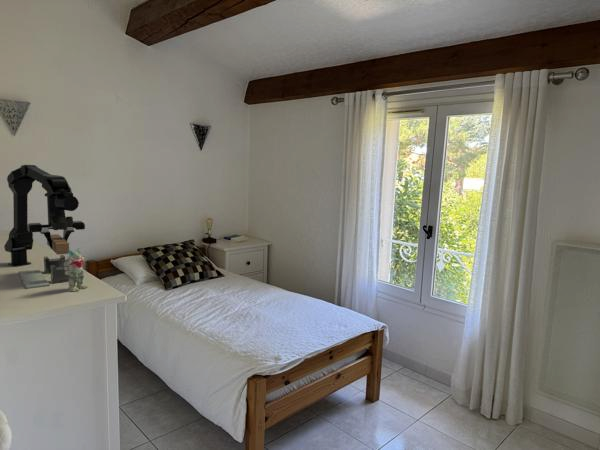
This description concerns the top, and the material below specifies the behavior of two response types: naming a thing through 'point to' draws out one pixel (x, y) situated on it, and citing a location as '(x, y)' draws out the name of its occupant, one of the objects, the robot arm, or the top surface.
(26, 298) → the top surface
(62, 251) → the rail
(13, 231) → the robot arm
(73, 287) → the figurine
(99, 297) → the top surface
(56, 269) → the rack
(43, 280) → the pad
